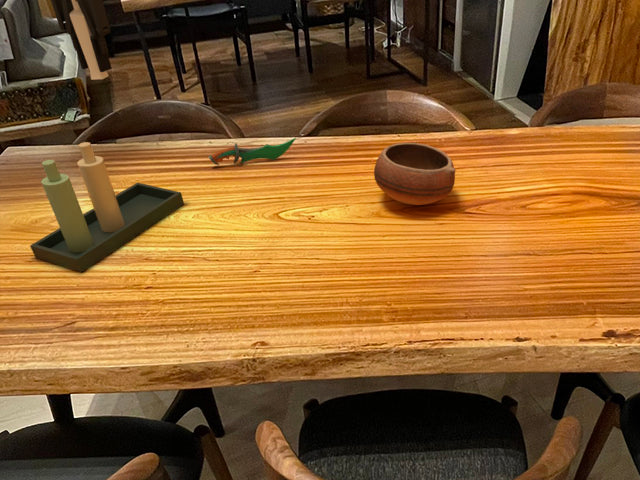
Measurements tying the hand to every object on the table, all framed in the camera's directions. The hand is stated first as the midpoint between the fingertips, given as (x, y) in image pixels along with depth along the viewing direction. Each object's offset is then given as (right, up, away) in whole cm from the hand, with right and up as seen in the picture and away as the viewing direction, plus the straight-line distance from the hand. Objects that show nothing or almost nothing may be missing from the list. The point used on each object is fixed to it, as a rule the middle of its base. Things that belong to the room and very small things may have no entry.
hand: (96, 68), depth 134 cm
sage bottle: (+6, -43, -20) cm, 48 cm away
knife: (+33, -18, +6) cm, 38 cm away
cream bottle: (+10, -38, -15) cm, 42 cm away
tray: (+10, -38, -15) cm, 42 cm away
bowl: (+68, -31, -9) cm, 76 cm away
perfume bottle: (0, -1, +1) cm, 2 cm away
